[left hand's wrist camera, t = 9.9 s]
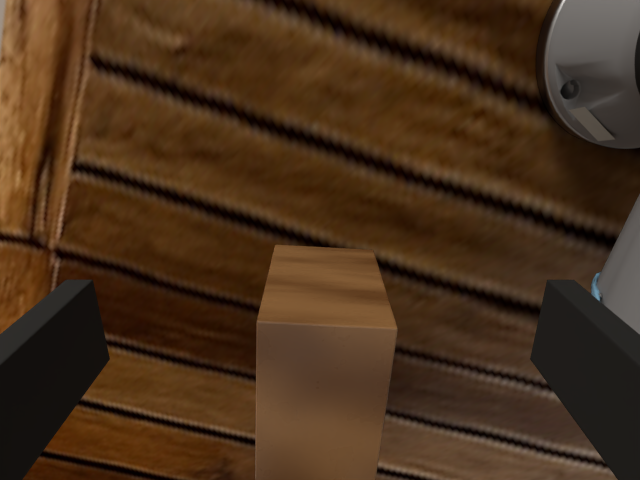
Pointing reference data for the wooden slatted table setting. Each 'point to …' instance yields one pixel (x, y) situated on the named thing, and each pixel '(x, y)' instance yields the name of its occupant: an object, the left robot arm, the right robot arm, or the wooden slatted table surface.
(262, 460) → the box
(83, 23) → the wooden slatted table surface
